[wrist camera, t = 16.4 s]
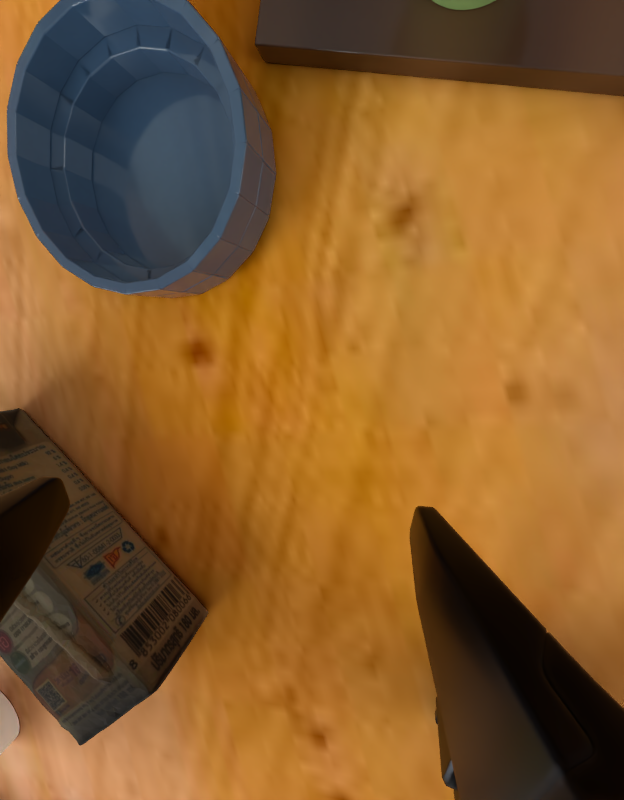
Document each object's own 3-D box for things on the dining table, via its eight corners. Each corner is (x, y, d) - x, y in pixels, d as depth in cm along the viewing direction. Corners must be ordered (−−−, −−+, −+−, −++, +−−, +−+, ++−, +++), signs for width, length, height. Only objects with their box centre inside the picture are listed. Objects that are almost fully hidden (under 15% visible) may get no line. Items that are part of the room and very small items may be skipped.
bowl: (300, 60, 16) (268, -16, 13) (258, 317, 19) (222, 317, 16) (86, 41, 18) (3, -31, 15) (78, 275, 21) (8, 266, 18)
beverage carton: (23, 398, 24) (-108, 426, 18) (219, 608, 24) (156, 708, 18) (-24, 468, 27) (-153, 514, 21) (154, 659, 27) (78, 762, 21)
